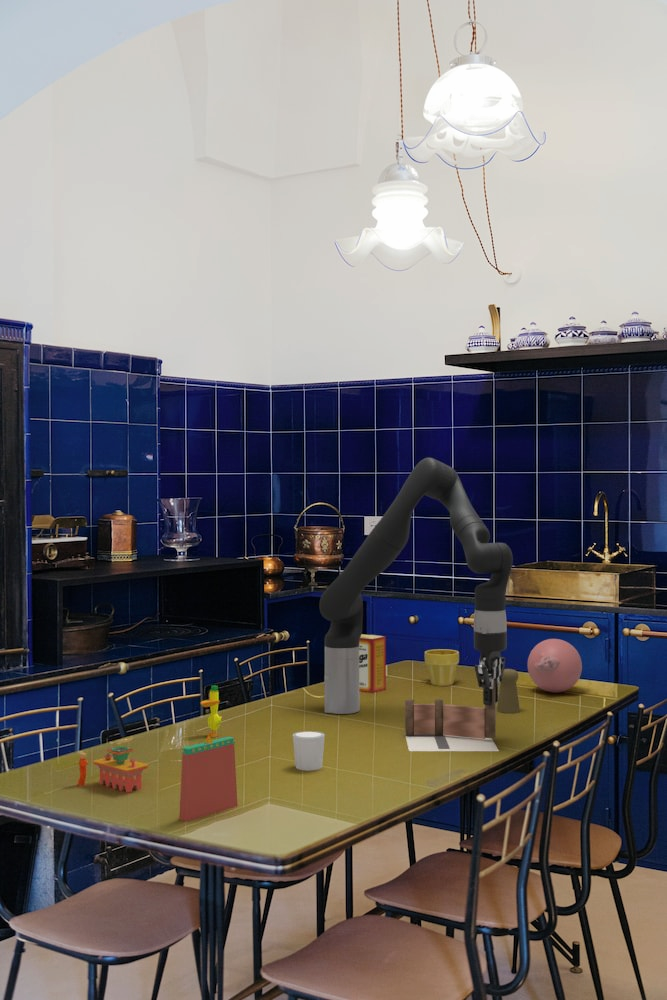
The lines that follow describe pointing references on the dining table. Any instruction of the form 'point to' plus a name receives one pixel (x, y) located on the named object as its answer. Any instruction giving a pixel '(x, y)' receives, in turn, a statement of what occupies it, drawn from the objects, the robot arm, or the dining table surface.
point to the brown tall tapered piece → (508, 693)
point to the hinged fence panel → (470, 720)
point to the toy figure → (213, 710)
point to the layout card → (448, 743)
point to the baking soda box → (372, 663)
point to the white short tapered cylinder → (308, 750)
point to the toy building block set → (201, 779)
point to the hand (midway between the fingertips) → (490, 703)
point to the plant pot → (442, 666)
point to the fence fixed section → (423, 718)
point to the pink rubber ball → (554, 665)
